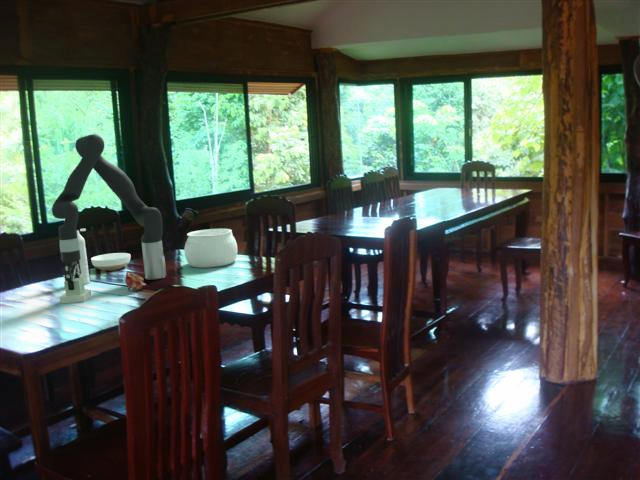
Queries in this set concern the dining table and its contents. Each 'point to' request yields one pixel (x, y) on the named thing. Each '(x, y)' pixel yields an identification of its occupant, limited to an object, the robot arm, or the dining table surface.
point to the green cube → (75, 287)
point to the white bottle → (83, 258)
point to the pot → (210, 248)
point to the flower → (133, 281)
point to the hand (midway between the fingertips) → (74, 287)
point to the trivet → (75, 297)
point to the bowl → (111, 261)
